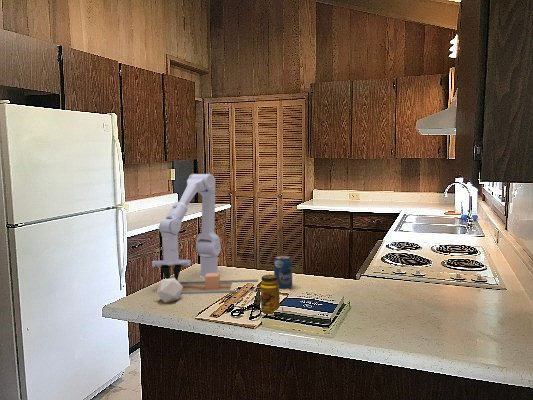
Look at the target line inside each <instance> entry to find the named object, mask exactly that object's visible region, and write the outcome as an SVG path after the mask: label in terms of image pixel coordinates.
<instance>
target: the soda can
mask: <svg viewBox="0 0 533 400" xmlns="http://www.w3.org/2000/svg"><path fill="white" fill-rule="evenodd" d="M273 275H276V276H277V277H278V284H279V290H284V289H286V290H287V289H289V290H290V289H291V288H292V286H293V260H292V259H291V256H290V255H277V256H275V258H274V260H273Z"/></svg>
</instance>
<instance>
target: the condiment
mask: <svg viewBox="0 0 533 400" xmlns="http://www.w3.org/2000/svg"><path fill="white" fill-rule="evenodd" d="M260 284H261V285H260V310H261V311H262V312H263V313H264V314H273V313H274V311H275V310H277V309H278V308H279V307H280V306H281V305H280V302H281V301H280V300H281V299H280V289H279V284H278V277H277V276H276V275H274V274H264V275H262V276H261V283H260Z"/></svg>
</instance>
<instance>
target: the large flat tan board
mask: <svg viewBox="0 0 533 400" xmlns="http://www.w3.org/2000/svg"><path fill="white" fill-rule="evenodd" d="M170 278H174V275H170ZM232 284H233V282H229V283H220V287H219V289H205V283H190V284H181V285H182V287H183V289H182V291H218V290H232V289H231V288H232Z"/></svg>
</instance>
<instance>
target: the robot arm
mask: <svg viewBox="0 0 533 400" xmlns="http://www.w3.org/2000/svg"><path fill="white" fill-rule="evenodd" d="M197 193H198V194H200V196H202V197H201V201H202V202H201V233H200V234H199V235H198V236H197V237H196V238H197V239H196V243H195V251H196V253H197V254H198V256H200V257H199V258H200V261H199V262H200V275H199V277H198V278H205V276H206V274H207V273H220V274H221V271H220V270H219V268H218V256H219V254H220V253H221V250H222V244H221V240H220V236H219V235H218V234H216V232H215V228H216V227H215V223H216V222H215V217H216V216H215V215H216V214H215V213H216V212H215V211H216V209H215V208H216V206H215V205H216V178H215V177H214V175H213V174H211V173H191V174H190V175H189V176H188V178H187V180H186V188H185V189H184V191H183V194H182V195H181V197H180V200H179V201H178V202H175V203H173V205H172V207H171V209H170V210H169V212H168V214H167V216H166V217H165V218H163V219H161V221H160V222H159V226H158V230H159V233H160V234H161V237H162V251H163V253H162V255H163V259H161V260H152V262H151V266H152V268H155V267H161V271H162V274H163V275H164V277H165V279H169V278H170V277H171V266H172V267H173V268H172V269H173V276H174V278H175V279H176V280H177V281H179V276H180V274H181V273H180V272H181V269H182V268H183V266H185V267H186V266H187V267H190V266H191V265H192V261H191V259H180V256H179V255H180V254H179V232H180V231H181V229H182V224H183V219H184V217H185V216H186V215H187V212H188V205H190V202H191V201H192V199H193V198H194V196H195V195H196V194H197Z"/></svg>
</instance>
